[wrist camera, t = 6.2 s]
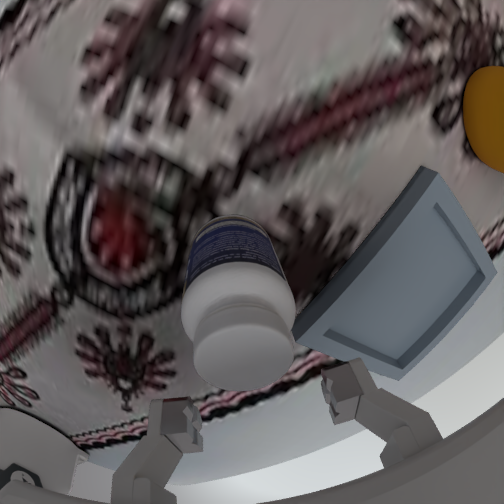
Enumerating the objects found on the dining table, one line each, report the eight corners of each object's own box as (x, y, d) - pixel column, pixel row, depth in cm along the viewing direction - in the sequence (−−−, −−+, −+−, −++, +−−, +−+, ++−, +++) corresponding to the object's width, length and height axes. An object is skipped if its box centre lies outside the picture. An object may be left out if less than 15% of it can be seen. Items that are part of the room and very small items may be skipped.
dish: (391, 368, 29) (398, 380, 27) (289, 324, 23) (295, 342, 21) (485, 263, 24) (497, 272, 22) (421, 165, 18) (438, 172, 16)
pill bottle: (175, 235, 18) (145, 340, 10) (251, 198, 18) (285, 283, 9) (213, 297, 21) (216, 412, 12) (282, 266, 20) (326, 374, 12)
